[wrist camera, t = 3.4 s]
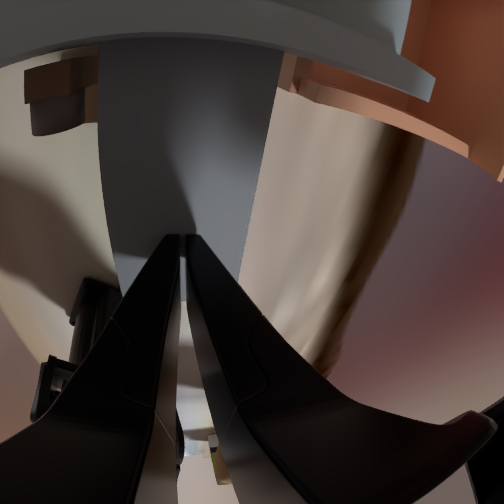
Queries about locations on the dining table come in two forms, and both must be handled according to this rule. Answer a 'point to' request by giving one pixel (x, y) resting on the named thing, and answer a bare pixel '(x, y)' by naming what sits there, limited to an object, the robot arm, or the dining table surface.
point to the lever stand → (62, 94)
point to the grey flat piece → (199, 100)
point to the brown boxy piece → (445, 87)
